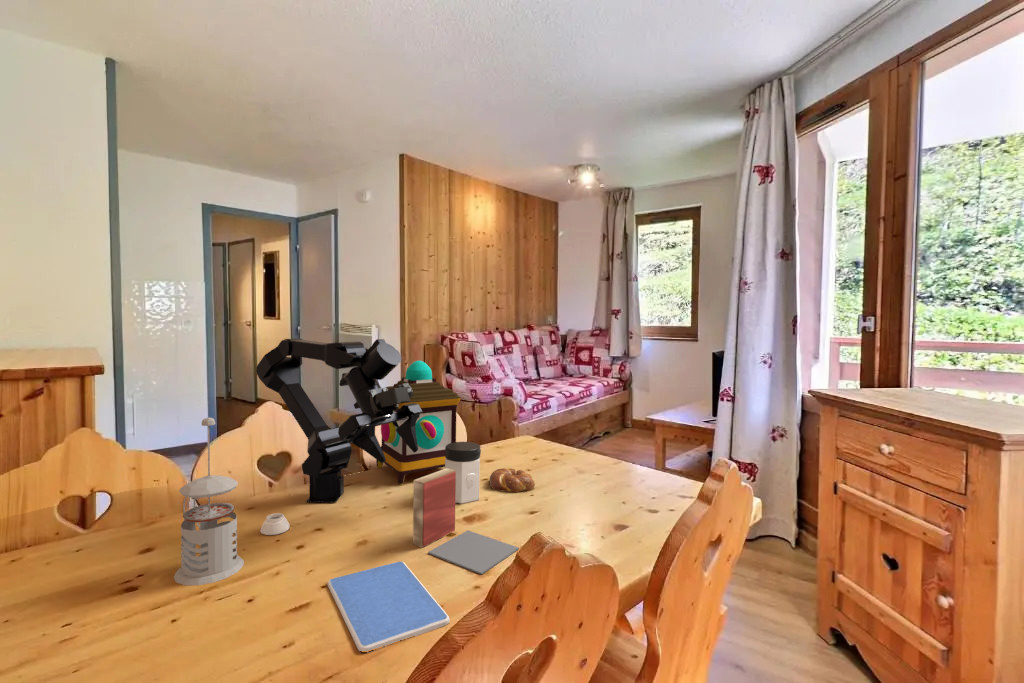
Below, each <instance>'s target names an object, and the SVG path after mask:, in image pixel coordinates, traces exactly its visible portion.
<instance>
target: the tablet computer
mask: <svg viewBox="0 0 1024 683" xmlns="http://www.w3.org/2000/svg"><path fill="white" fill-rule="evenodd" d="M327 587H328V589H329V591H330V594H331V595H332V598H333V600H334V602H335V603H336V605H337V607H338V610H339V612H340V614H341V616H342V619H343V620H344V622H345V625H346V627H347V629H348V631H349V633H350V636H351V638H352V640H353V642H354V644H355V647H356V648H357V650H358V652H360V651H369V650H372V649H375V648H379V647H381V646H382V647H383V646H386V645H389V644H392V643H394V642H397V641H400V640H403V639H406V638H409V637H412V636H415V637H418V636H420V635H423V634H426V633H429V632H432V631H434V630H437V629H440V628H442V627H445V626H447V625H448V624H449V623H450V620H451V619H450V616H449V615H448V614H447V613H446V611H445V610H444V609H443V608H442V606H441V605H440V604H439V603H438V602H437V600H436V599H435V598H434V596H432V594H431V593H430V592H429V591H428V589H427V588H426V586H424V584H423V583H422V582H421V581H420V580H419V578H418V577H417V575H415V574H414V572H413V571H412V569H410V568H409V567H408V565H407V564H406V563H405V562H404V561H396V562H392V563H389V564H384V565H380V566H376V567H372V568H368V569H365V570H361V571H356V572H352V573H349V574H345V575H341V576H336V577H333V578H332V577H331V578H330V579H329V580H328V581H327ZM412 638H413V637H412ZM409 639H410V638H409ZM406 640H407V639H406ZM392 645H393V644H392ZM389 646H390V645H389ZM386 647H387V646H386ZM383 648H384V647H383Z"/></svg>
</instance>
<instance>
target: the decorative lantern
mask: <svg viewBox="0 0 1024 683" xmlns="http://www.w3.org/2000/svg"><path fill="white" fill-rule="evenodd" d="M404 383H408V384H409V385H410V387H411V388H412V390H413V396H412V397H410V402H403V403H400V404H398V406H399V407H398V408H397V409H396V410H393V413H395V412H397V411H398V410H399V409H400V408H401V407H402V406H403V405H406V404H411V403H416V404H419V406H420V408H421V410H422V413H421V414H420V417H419V418H418V419H417V421H416V424H415V429H416V437H417V444H418V451H417V452H415V453H414V452H413V451H412V450H411V449H410V448H409V446H408V445H407V444H406V443H405V441H404V440H403V439H402V438H401V436H400V435H399V434H398V433H397V431H396V429H397V428H398V427H396V426H394V425H393V423H388V424H384V425H380V434H381V444H380V446H381V449H382V451H383V453H384V456H385V459H386V461H385V462H384V463H381V462H379V461H378V460H377V459H375V462H376V467H377V468H378V469H381V468H383V464H384V465H386V466H387V467H389V468H390V469H391V470H392V471H394V472H395V473H396V474H397V482H398V484H399V485H404V482H405V477H406V475H407V474H411V473H418V472H423V471H427V470H434V469H439V468H445V459H446V457H445V447H446V445H447V444H450V443H454V442H457V410H458V409H457V408H458V405H459V403H460V401H461V396H459V394H458V393H456V392H455V391H454V390H453V389H451V388H447V387H446V386H444V385H441V383H440V382H438V381H437V379H436V378H434V377H433V372H432V368H430V366H429V365H428V364H427V363H426V362H425V361H422V360H415V361H413V362H411V364H410V365H409V366H408V367H407V369H406V371H405V377H401V379H400V380H398V381H397V382H396V383H394V384H393V385H392V386H386V387H384V388H387V389H388V390H390V389H394V388H397V386H398V385H402V384H404Z"/></svg>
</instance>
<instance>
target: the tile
mask: <svg viewBox="0 0 1024 683" xmlns="http://www.w3.org/2000/svg"><path fill="white" fill-rule="evenodd" d="M455 492H456V470H452V469H448V468H446V469H445V468H444V469H441V470H440V469H439V470H438V471H435V472H432V473H429V474H427V475H424V476H421V477H419V478H418V477H417V478H416V479H413V503H412V504H413V507H412V508H413V513H412V514H413V517H412V519H413V520H412V545H414V546H417V547H419V548H421V549H422V548H424V547H426V546H428V545H430V544H432V543H434V542H436V541H438V540H440V539H442V538H444V537H445V536H447V535H450V534H451V533H452V532H453V533H454V532H455V531H456V502H455Z"/></svg>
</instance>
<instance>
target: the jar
mask: <svg viewBox="0 0 1024 683" xmlns="http://www.w3.org/2000/svg"><path fill="white" fill-rule="evenodd" d="M481 452H482V450H481V445H480V444H479V443H476V442H471V441H456V442H454V443H450V444H447V445H446V447H445V457H446V459H445V467H444V469H446V468H448V469H452V470H456V492H455V504H457V503H458V504H466V503H467V504H468V503H471V502H472V503H473V502H475V501H480V469H481V468H480V466H481V465H480V463H481V462H480V461H481Z"/></svg>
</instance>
